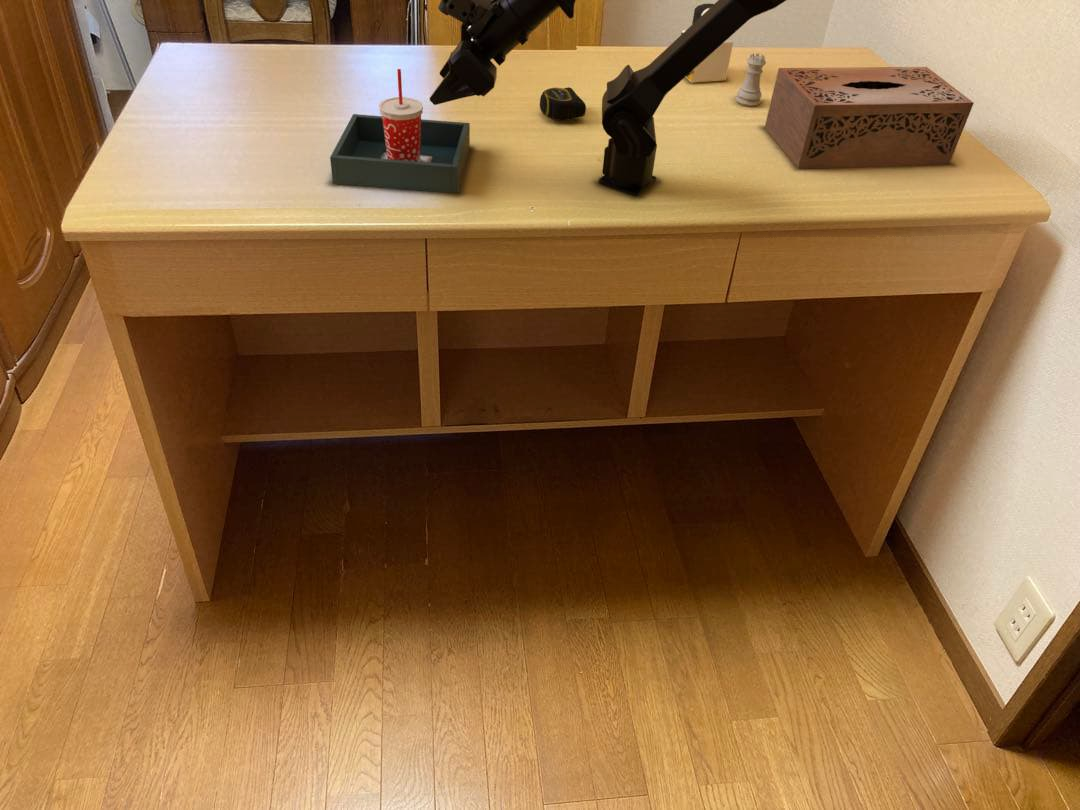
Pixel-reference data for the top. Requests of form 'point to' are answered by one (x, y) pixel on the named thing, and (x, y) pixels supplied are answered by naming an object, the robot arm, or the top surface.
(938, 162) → the tissue box cover
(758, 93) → the rook chess piece
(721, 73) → the medicine bottle
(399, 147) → the beverage cup
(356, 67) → the top surface
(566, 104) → the tape measure
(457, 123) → the crate
